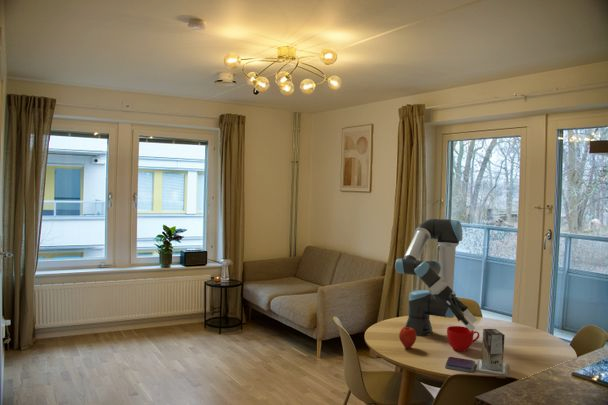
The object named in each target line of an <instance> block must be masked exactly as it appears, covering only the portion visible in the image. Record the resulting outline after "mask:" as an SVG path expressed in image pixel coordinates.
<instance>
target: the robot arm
mask: <svg viewBox="0 0 608 405" xmlns="http://www.w3.org/2000/svg"><path fill="white" fill-rule="evenodd" d="M462 227H463V226H462V223H461V221H459V220H458V219H457V220H456V219H444V218H442V219H441V218H429V219H427V220H424V221H422V222H421V223H420V224H419V225H418V226H416V228H415V230H414V231H413V237H412V239H411V241H410V244H409V245H408V247H407V250H406V251H405V254H404V256H403V257H402V258H397V259H396V260H395V264H394V268H395V272H396V273H397V274H402V275H413V276H417V277H418V279H420V280H421V281H422V282H423V284H425V285H426V286H427V287H428V288H429V290H427V289H419V290H413V291H411V292H410V293H409V294H408V295H409V296H408V317H407V321H406V323H405V325H404V327H410V328H413V329H414V330H415V332H416V336H430V335H432V334H433V326H432V323H431V318H430V316H433V317H440V318H448V319H453V318H454V317H456V319H457V321H458V322H460V321H461V323H462V324H463V326H464V327H467V328H468V329H469V330H470V332H471V331H472V330H473V331H474V330H475V328H476V327H475V325H473V324H474V323H475V322H477V321H478V320H477V318H476V317H475V316H474V315H473V314H472V313H471V312H470V311H469V307H468V305H465V304H464V303H463V302H462V301H461V300H460V299H459V297H458V296H457V293H456V292H455V291H454V283H455V282H454V280H455V266H456V265H455V264H456V250H457V247H458V246H459V245H460V242H462V240H463V228H462ZM430 240H437V241H436V242H437V244H438V245H439V252H438V253H439V255H438V260H435V259H431V260H428V261H427V260H419V259H420V258H421V256H422V254H423V251H424V249H425V247H426V245H427V243H428V242H429V241H430ZM431 292H432V293H431ZM429 334H430V335H429Z"/></svg>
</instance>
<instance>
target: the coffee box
mask: <svg viewBox="0 0 608 405" xmlns="http://www.w3.org/2000/svg"><path fill="white" fill-rule="evenodd" d="M481 345H482V346H481V347H482V348H481V359H482V361H481V363H483V364H484V365H485V366H486V367H487V368H488V369H490V370H503V363H504V352H505V351H504V350H505V334H503V333H502V332H501V331H499V330H498V329H496V328H483V329H482V344H481Z"/></svg>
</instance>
